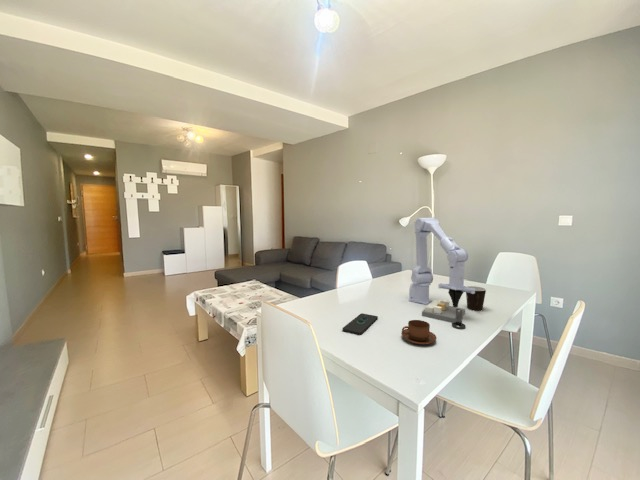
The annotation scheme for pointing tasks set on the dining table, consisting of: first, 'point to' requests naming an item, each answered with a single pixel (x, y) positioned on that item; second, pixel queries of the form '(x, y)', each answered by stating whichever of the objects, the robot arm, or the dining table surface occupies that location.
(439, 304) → the block
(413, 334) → the cup and saucer
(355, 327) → the smart home device
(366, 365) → the dining table surface
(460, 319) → the black door knob
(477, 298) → the coffee mug
